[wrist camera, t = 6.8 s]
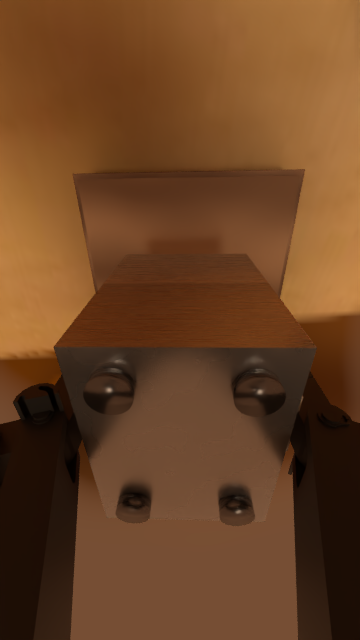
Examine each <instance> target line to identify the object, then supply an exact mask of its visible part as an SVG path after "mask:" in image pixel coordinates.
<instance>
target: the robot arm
mask: <svg viewBox="0 0 360 640" xmlns="http://www.w3.org/2000/svg"><path fill="white" fill-rule="evenodd" d="M13 404H14V406H15V408H16V410H17V412H18V414H19V416H20V418H21V419H19V420H16V421H12V422H8V423H4V424H0V640H70V632H71V614H72V597H73V596H72V595H73V577H74V560H75V559H74V558H75V541H76V523H77V522H76V521H77V504H78V486H79V467H80V455H79V451H78V448H79V445H80V443H81V440H82V436H81V433H80V430H79V427H78V423H77V420H76V417H75V414H74V411H73V407H72V404H71V401H70V398H69V395H68V391H67V388H66V385H65V382H64V379H63V375H61V377H60V378H59V380H58V381H57V383H56V384H55V385H53V384H49V383H43V384H37V385H34V386H31V387H29V388H27V389H25V390H23V391H22V392H21V393H20V394H19V395H18V396H16V398H15V400H14V401H13ZM290 441H291V444H292V446H293V449H294V452H295V453H294V456H293V459H292V462H291V465H290V468H289V472H288V474H290V475H291V474H292V472H293V497H294V524H295V525H294V527H295V556H296V585H297V586H296V587H297V615H298V616H297V617H298V640H360V423H357V422H354V421H352V420H351V418H350V417H349V416H348V415H347V414H346V413H345V412H344V411H343V410H341V409H340V408H338V407H336V406H333V405H331V404H330V403H329V401H328V399H327V398H326V396H325V394H324V393H323V391H322V390H321V388H320V386H319V385H318V384H317V382H316V380H315V378H313V375H312V374H311V372H309V375H308V379H307V382H306V385H305V389H304V392H303V395H302V399H301V402H300V405H299V409H298V412H297V415H296V419H295V422H294V425H293V429H292V432H291V435H290V439H289V442H288V445H287V449H286V451H287V450H288V446H289V443H290Z"/></svg>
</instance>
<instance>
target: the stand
mask: <svg viewBox="0 0 360 640" xmlns="http://www.w3.org/2000/svg"><path fill="white" fill-rule="evenodd" d="M304 171H305V169H299V170H246V171H194V172H141V173H89V174H73V178H74V183H75V189H76V194H77V199H78V204H79V209H80V214H81V219H82V225H83V230H84V235H85V240H86V245H87V250H88V255H89V261H90V266H91V271H92V276H93V281H94V286H95V291H96V292H97V291H98V290H99V288H100V287H101V286H102V285H103V283H104V282H105V281H106V280H107V278H108V277H109V276H110V274H111V273H112V272H113V271H114V269H115V268H116V267H117V265H118V264H119V263H120V262H121V260H122V259H123V258H124V257H125V255H126V254H247V255H248V256H249V258H250V259H251V260H252V262H253V263H254V264H255V266H256V267H257V268H258V270H259V271H260V273H261V274H262V275H263V277H264V278H265V279H266V281H267V282H268V283H269V285H270V286H271V287H272V289H273V290H274V291H275V293H276V294H277V295H278V297H279V298H280V295H281V290H282V285H283V280H284V274H285V269H286V264H287V259H288V254H289V249H290V243H291V238H292V233H293V228H294V223H295V218H296V213H297V207H298V202H299V197H300V192H301V187H302V182H303V176H304Z"/></svg>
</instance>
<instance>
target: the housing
mask: <svg viewBox="0 0 360 640" xmlns="http://www.w3.org/2000/svg"><path fill="white" fill-rule="evenodd" d="M316 349H317V348H316V346H315V345H314V344H313V342H312V341H311V340H310V338H309V337H308V336H307V334H306V333H305V332H304V330H303V329H302V327H301V326H300V325H299V323H298V322H297V321H296V319H295V318H294V317H293V315H292V314H291V313H290V311H289V310H288V309H287V307H286V306H285V305H284V303H283V302H282V301H281V299H280V298H279V297H278V295H277V294H276V293H275V291H274V290H273V289H272V287H271V286H270V285H269V283H268V282H267V281H266V279H265V278H264V277H263V275H262V274H261V273H260V271H259V270H258V268H257V267H256V266H255V264H254V263H253V262H252V260H251V259H250V258H249V256H248V255H247V254H126V255H125V257H124V258H123V259H122V260H121V262H120V263H119V264H118V265H117V267H116V268H115V269H114V271H113V272H112V273H111V274H110V276H109V277H108V278H107V280H106V281H105V282H104V283H103V285H102V286H101V287H100V288H99V290H98V291H97V292H96V294H95V295H94V296H93V297H92V299H91V300H90V301H89V302H88V304H87V305H86V306H85V308H84V309H83V310H82V311H81V313H80V314H79V315H78V316H77V318H76V319H75V320H74V322H73V323H72V324H71V325H70V327H69V328H68V329H67V330H66V332H65V333H64V334H63V336H62V337H61V338H60V339H59V341H58V342H57V343H56V345H55V346H54V350H55V353H56V356H57V359H58V362H59V366H60V368H61V372H62V375H63V379H64V382H65V385H66V388H67V391H68V395H69V398H70V401H71V404H72V407H73V411H74V414H75V417H76V420H77V423H78V427H79V430H80V433H81V436H82V439H83V442H84V446H85V449H86V452H87V455H88V459H89V462H90V465H91V468H92V472H93V474H94V478H95V481H96V484H97V487H98V491H99V494H100V497H101V500H102V504H103V507H104V510H105V513H106V516H107V518H119V519H120V520H122V521H125V522H129V523H142V522H145V521H147V520H148V519H181V520H182V519H183V520H219V521H220V520H221V521H222V522H223V523H225V524H227V525H232V526H241V525H246V524H249V523H251V522H252V521H261V522H264V521H265V519H266V515H267V512H268V508H269V505H270V502H271V499H272V495H273V492H274V489H275V485H276V482H277V478H278V475H279V472H280V469H281V465H282V462H283V458H284V455H285V452H286V449H287V445H288V442H289V439H290V435H291V432H292V429H293V425H294V422H295V419H296V415H297V412H298V409H299V405H300V402H301V399H302V395H303V392H304V389H305V385H306V382H307V379H308V375H309V372H310V368H311V365H312V362H313V359H314V355H315V352H316Z"/></svg>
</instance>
